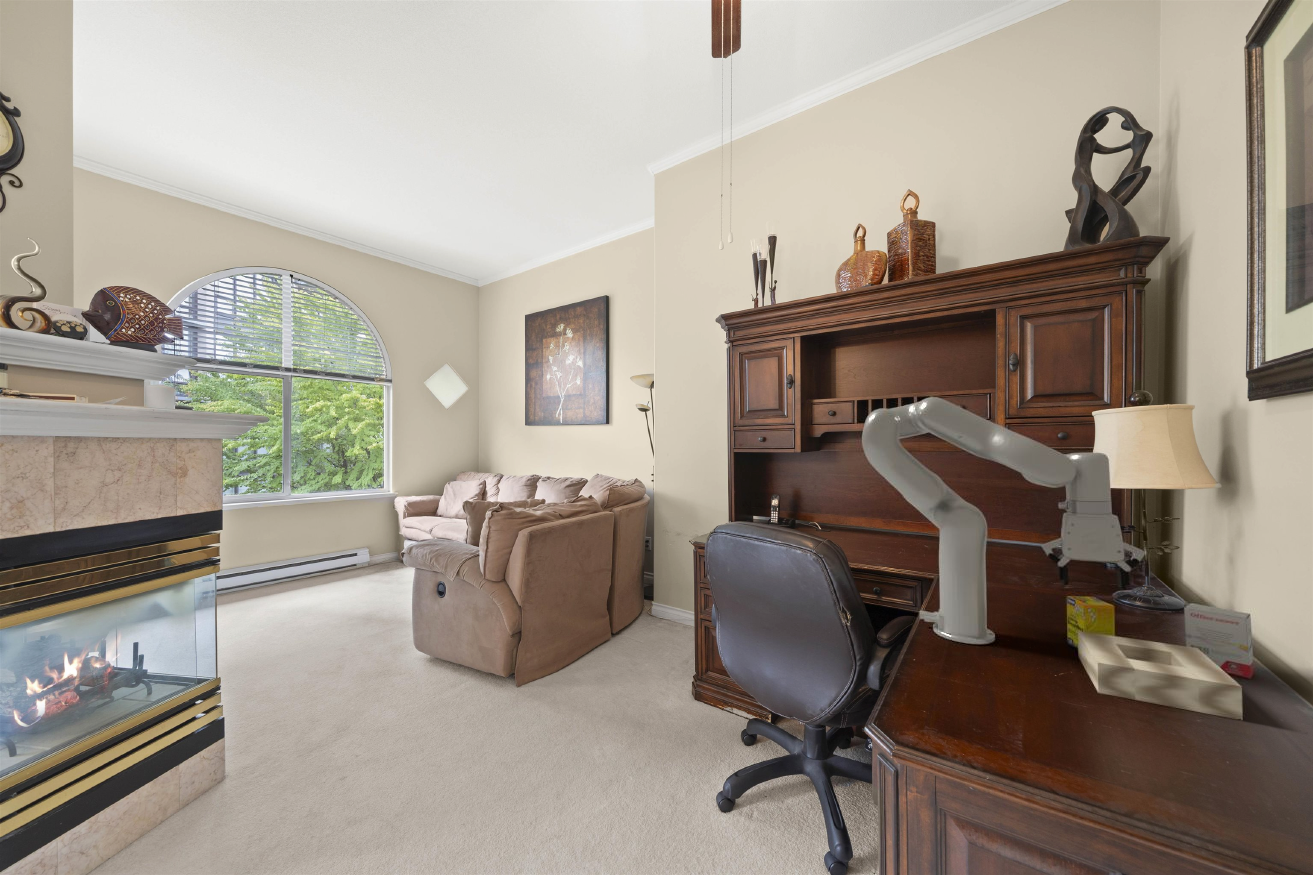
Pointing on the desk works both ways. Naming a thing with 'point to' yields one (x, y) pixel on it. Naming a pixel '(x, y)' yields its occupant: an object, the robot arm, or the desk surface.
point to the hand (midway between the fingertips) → (1093, 585)
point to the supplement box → (1088, 617)
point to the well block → (1159, 674)
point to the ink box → (1221, 637)
